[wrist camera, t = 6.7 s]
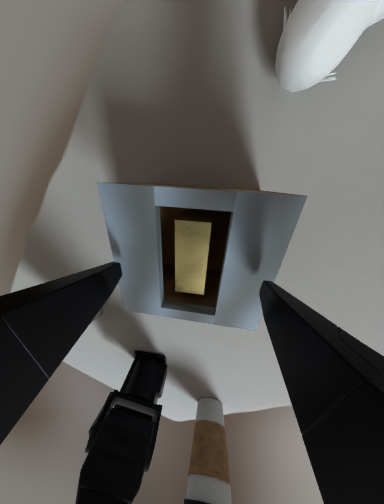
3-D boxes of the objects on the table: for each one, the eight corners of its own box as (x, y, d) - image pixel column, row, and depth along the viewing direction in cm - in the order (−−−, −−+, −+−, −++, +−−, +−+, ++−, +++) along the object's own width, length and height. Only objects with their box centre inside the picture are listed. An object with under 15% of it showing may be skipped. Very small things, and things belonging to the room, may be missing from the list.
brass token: (187, 257, 17) (175, 291, 12) (189, 207, 15) (174, 220, 9) (206, 260, 17) (203, 294, 12) (212, 208, 14) (211, 222, 9)
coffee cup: (203, 411, 37) (197, 540, 24) (186, 396, 34) (170, 530, 21) (233, 410, 34) (246, 554, 21) (218, 393, 32) (221, 546, 18)
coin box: (156, 265, 19) (124, 310, 12) (150, 183, 15) (97, 182, 8) (239, 276, 18) (255, 330, 11) (260, 190, 13) (307, 196, 7)
